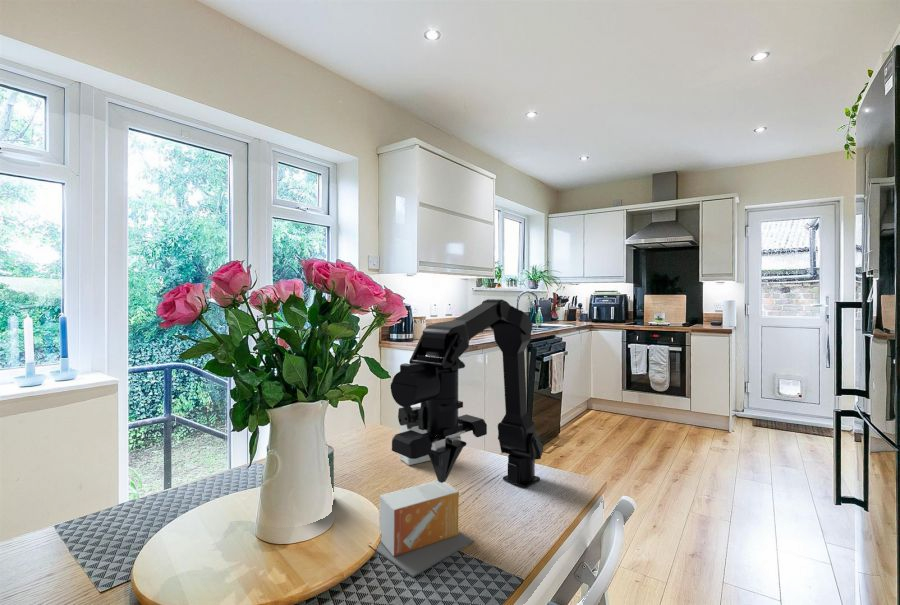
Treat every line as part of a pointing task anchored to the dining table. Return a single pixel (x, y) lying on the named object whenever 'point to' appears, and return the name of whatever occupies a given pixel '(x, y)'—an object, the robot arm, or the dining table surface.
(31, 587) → the dining table surface
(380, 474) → the dining table surface
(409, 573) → the mat
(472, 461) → the dining table surface
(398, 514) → the small box
